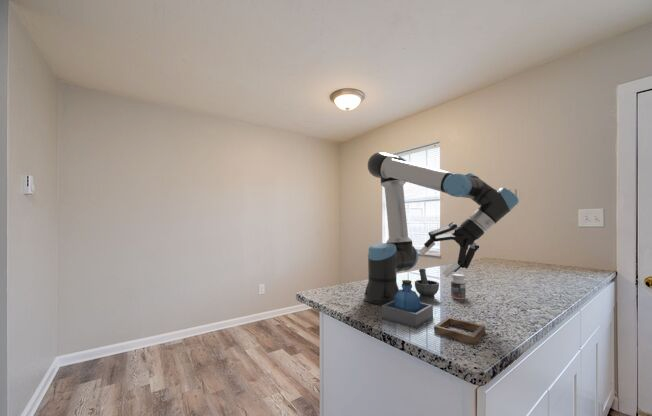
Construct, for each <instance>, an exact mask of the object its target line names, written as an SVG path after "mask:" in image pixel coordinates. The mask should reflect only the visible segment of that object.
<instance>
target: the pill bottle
mask: <svg viewBox="0 0 652 416" xmlns="http://www.w3.org/2000/svg"><path fill="white" fill-rule="evenodd" d="M451 277H452V279H451V280H450V287H451V288H450V293H451V295H450V297H451V298H453V299H456V300H465V299H466V295H467V293H466V291H467V289H466V286H467V284H466V281H465V280H464V279H465V275H464V274H461V273H452V274H451Z"/></svg>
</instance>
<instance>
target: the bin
mask: <svg viewBox="0 0 652 416" xmlns="http://www.w3.org/2000/svg"><path fill="white" fill-rule="evenodd" d="M381 319H382V320H383V321H384V320H385V321H387V322H391V323H395V324H397V325H401V326H405V327H408V328H411V327H412V329H414V330H415V329H416V330H417V329H419V328H420V327H422V326H423V325H425V324H427V323H428V322H430V321H432V320H433V319H434V305H433V304H429V303H424V302H420V311H418V312H416V313H413V312H409V311H405V310H401V309H397V308H394V301H391V302H389V303H387V304H384V305H381Z"/></svg>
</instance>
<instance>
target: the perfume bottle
mask: <svg viewBox="0 0 652 416" xmlns="http://www.w3.org/2000/svg"><path fill="white" fill-rule="evenodd" d="M401 281H402V282H401V288H402V289H399V290H398V292H397V293H396V295H395V296H394V308H397V309H401V310H405V311H409V312H413V313H416V312H418V311H420V303H421V299H420V298H419V294H417V291H415V290H412V288H413V284H412V280H410V279H402V280H401Z"/></svg>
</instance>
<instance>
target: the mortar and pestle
mask: <svg viewBox="0 0 652 416" xmlns="http://www.w3.org/2000/svg"><path fill="white" fill-rule="evenodd" d="M426 271H427V270H426V269H425V268H419V270H418V272H419V276H420V279H418V280H415V281H414V287H415V290H416V293H418V297H419V299H420V300H423V301H434V300H435V298H436V297H435V295H436V294H437V293H438V291H439V287H440V282H437V281H435V280H431V279H428V277H427V273H426Z"/></svg>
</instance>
